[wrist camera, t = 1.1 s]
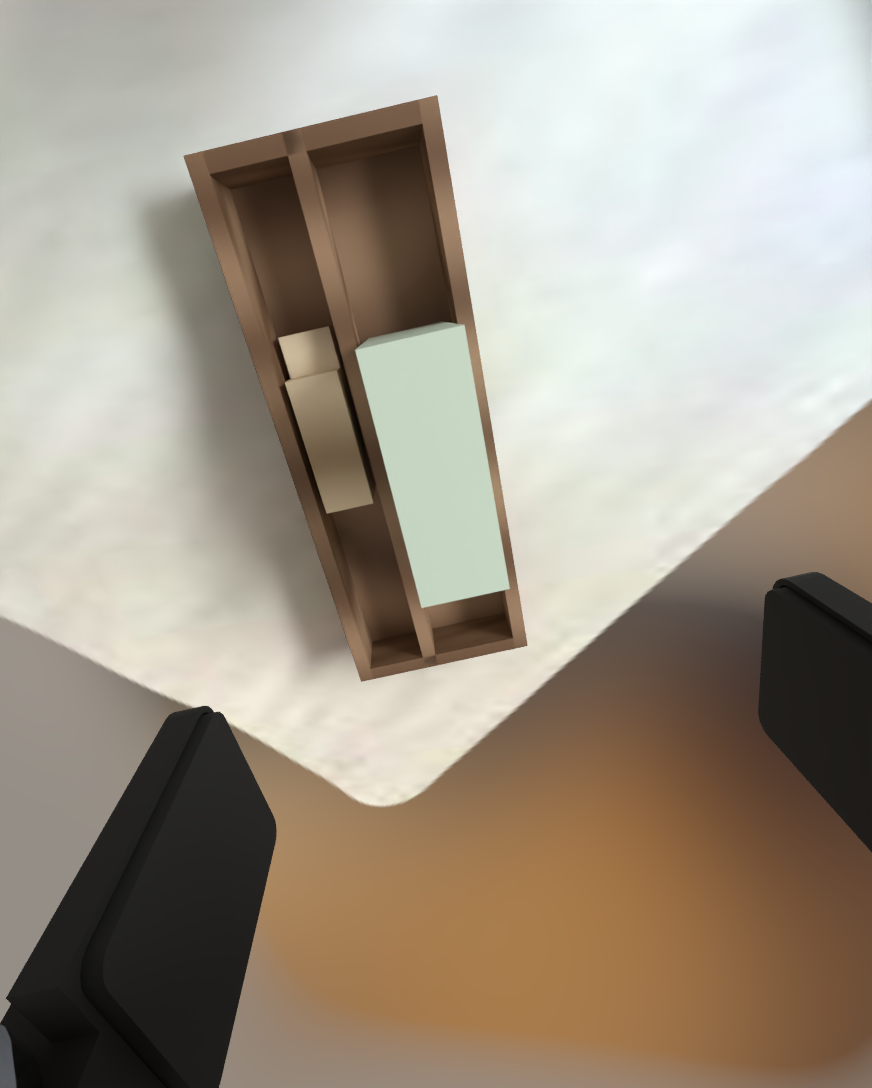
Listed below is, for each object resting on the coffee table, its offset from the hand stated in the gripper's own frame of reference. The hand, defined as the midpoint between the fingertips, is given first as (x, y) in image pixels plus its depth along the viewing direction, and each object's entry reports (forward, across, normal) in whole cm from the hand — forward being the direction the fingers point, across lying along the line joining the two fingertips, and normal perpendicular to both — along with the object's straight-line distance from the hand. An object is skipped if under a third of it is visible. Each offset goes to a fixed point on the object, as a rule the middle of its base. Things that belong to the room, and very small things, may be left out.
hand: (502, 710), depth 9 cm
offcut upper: (+21, +5, -1) cm, 22 cm away
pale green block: (+23, 0, 0) cm, 23 cm away
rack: (+24, +2, 0) cm, 24 cm away
